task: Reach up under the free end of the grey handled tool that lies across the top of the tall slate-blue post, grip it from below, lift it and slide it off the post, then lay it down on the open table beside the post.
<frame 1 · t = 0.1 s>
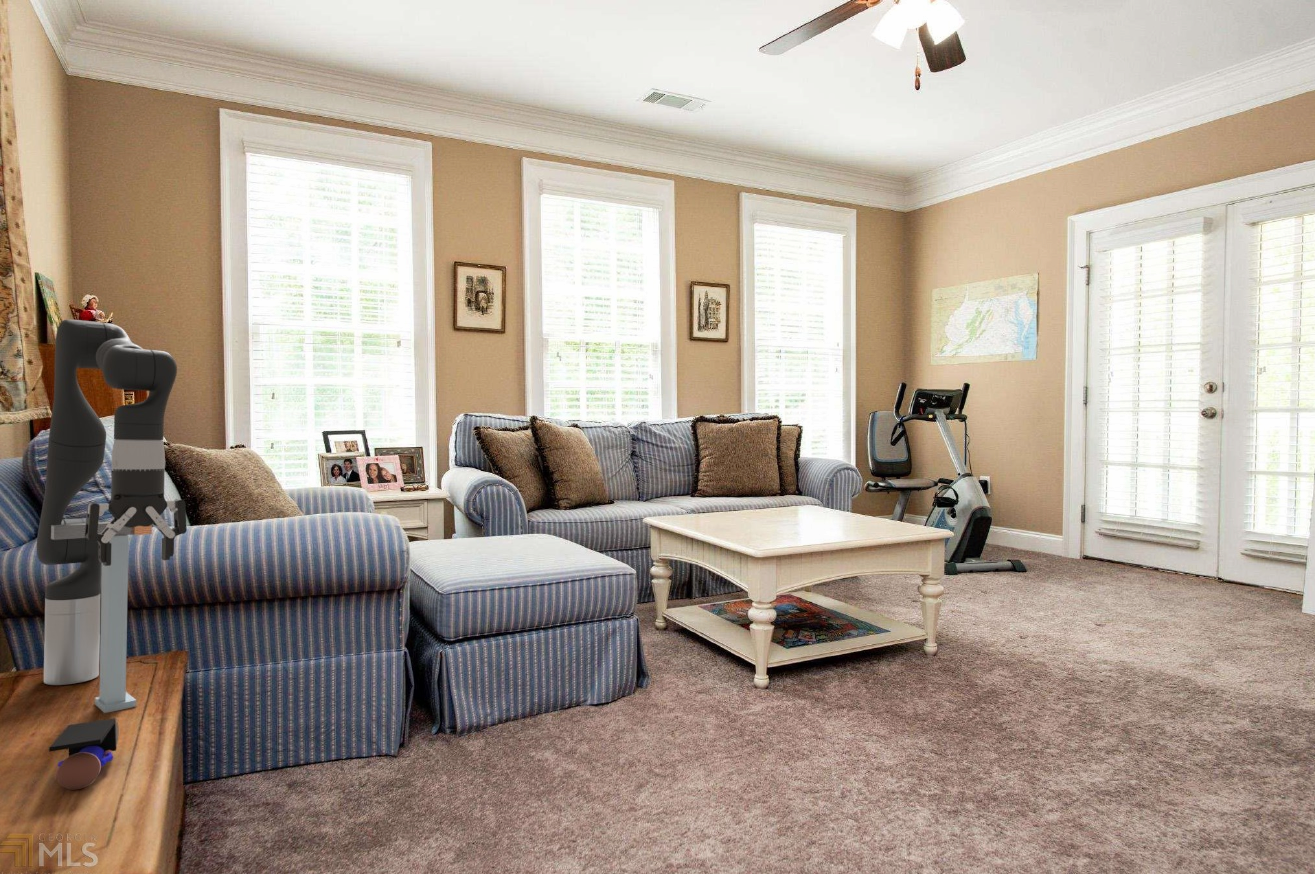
hand: (136, 562, 133), 29 cm above the table, tool pointing down, fingers open, 8 cm apart
post: (112, 705, 147), on the table
figurine character: (85, 775, 118), on the table
grey handled tool: (92, 536, 145), point 32 cm above the table, touching post
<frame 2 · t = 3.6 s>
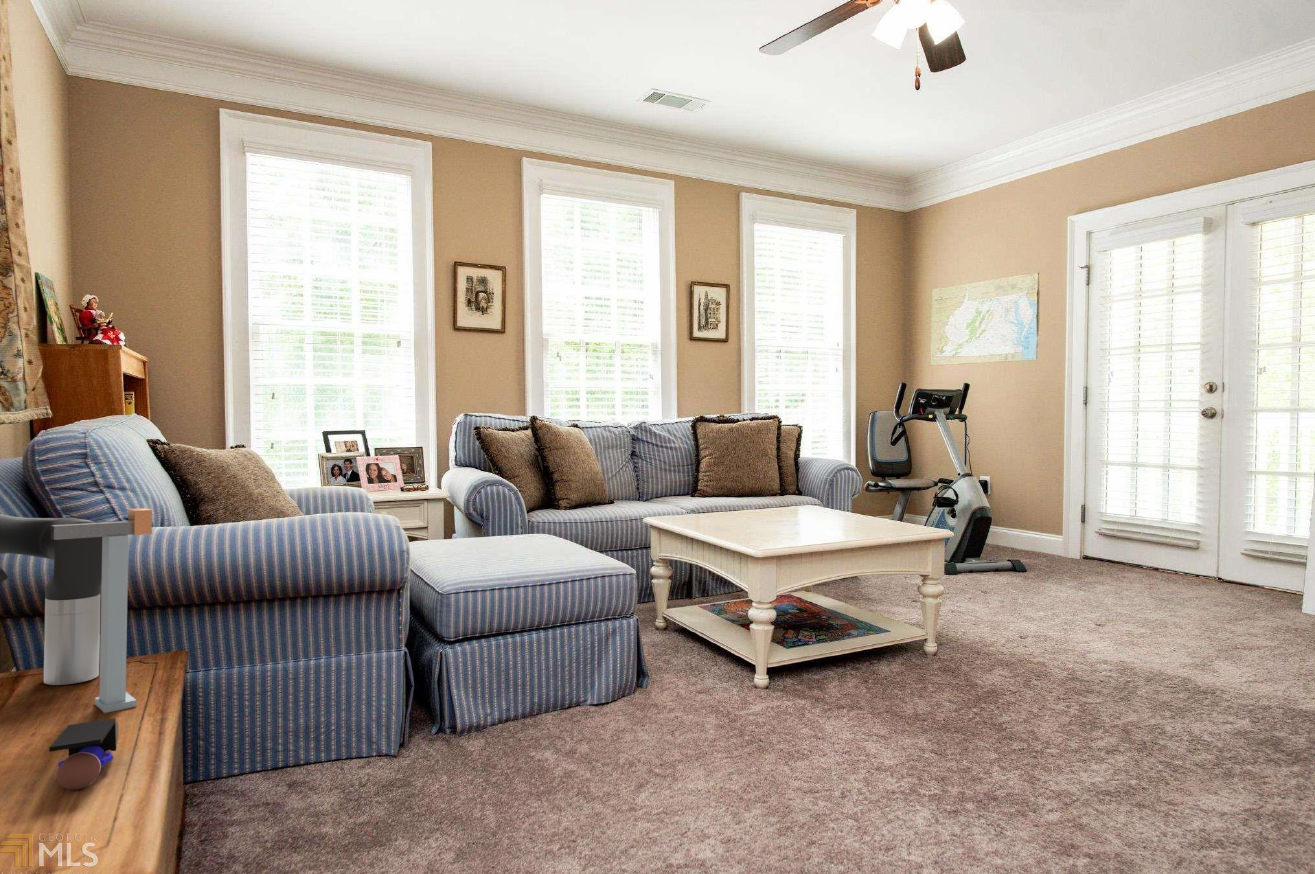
hand: (0, 569, 135), 27 cm above the table, tool pointing upward, fingers open, 8 cm apart
nothing on the table moved.
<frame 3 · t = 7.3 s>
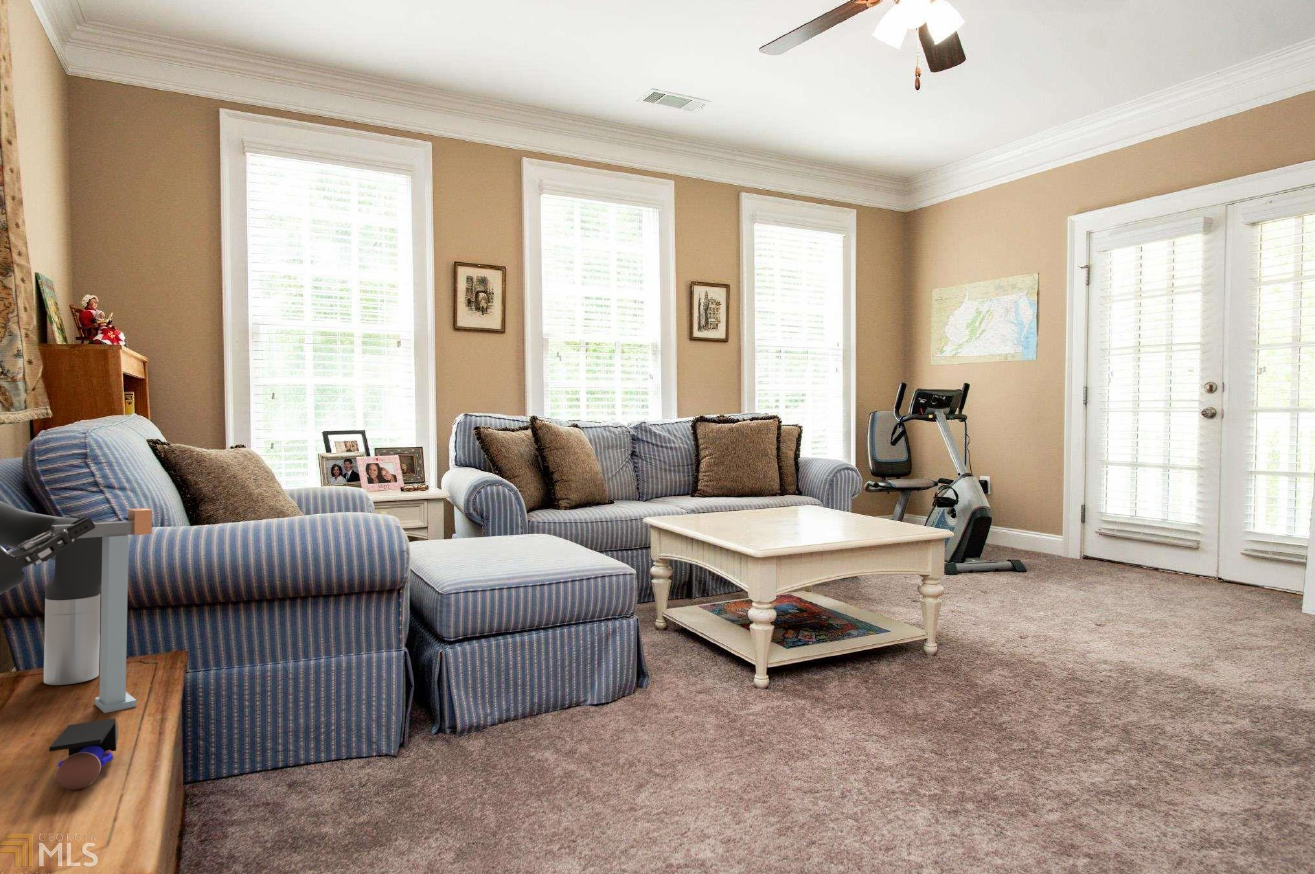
hand: (90, 521, 145), 35 cm above the table, tool pointing upward, fingers closed on grey handled tool, 2 cm apart
grey handled tool: (93, 536, 145), point 32 cm above the table, touching gripper, post
everything else where it was.
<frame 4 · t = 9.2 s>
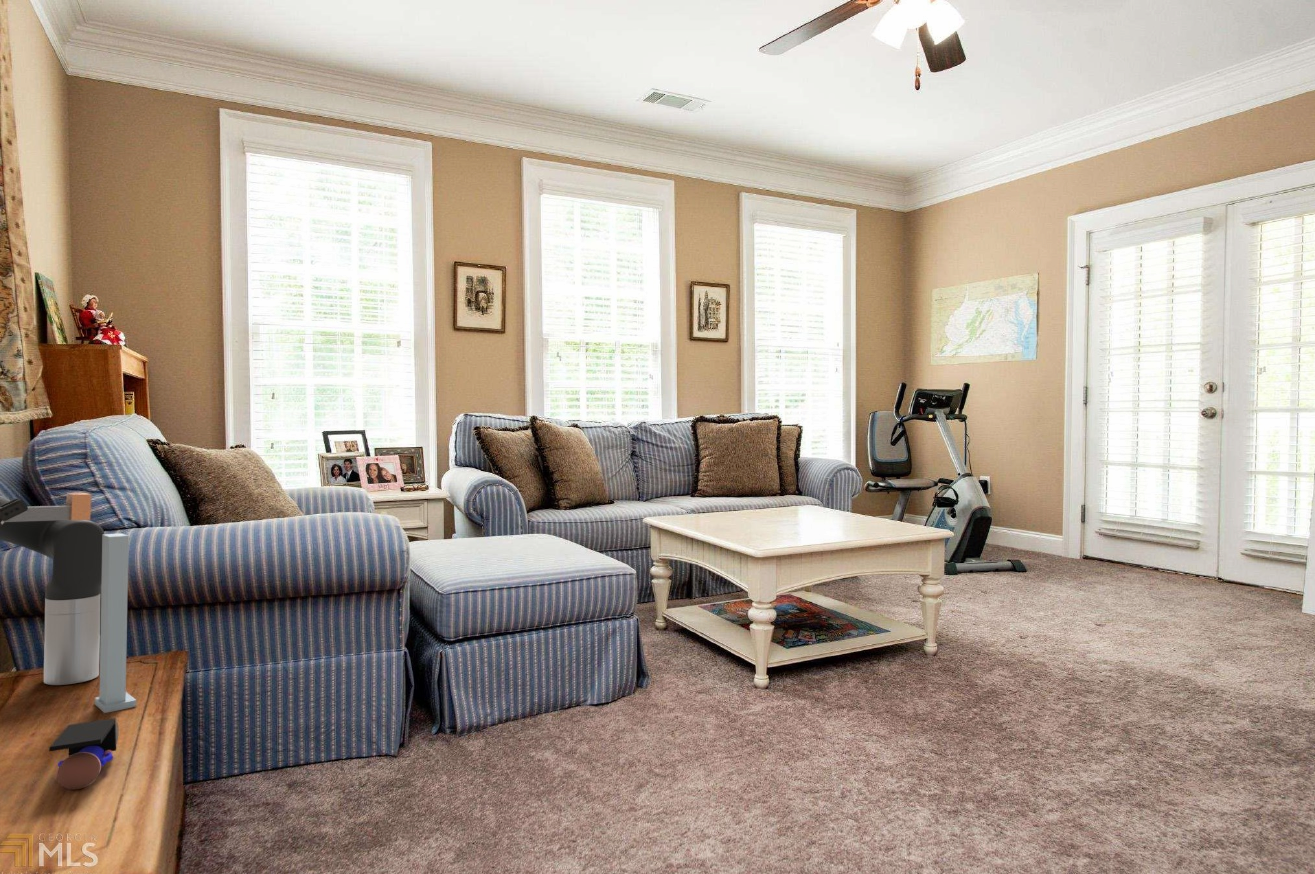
hand: (22, 503, 137), 39 cm above the table, tool pointing upward, fingers closed on grey handled tool, 2 cm apart
grey handled tool: (26, 520, 138), point 36 cm above the table, touching gripper
everything else where it was.
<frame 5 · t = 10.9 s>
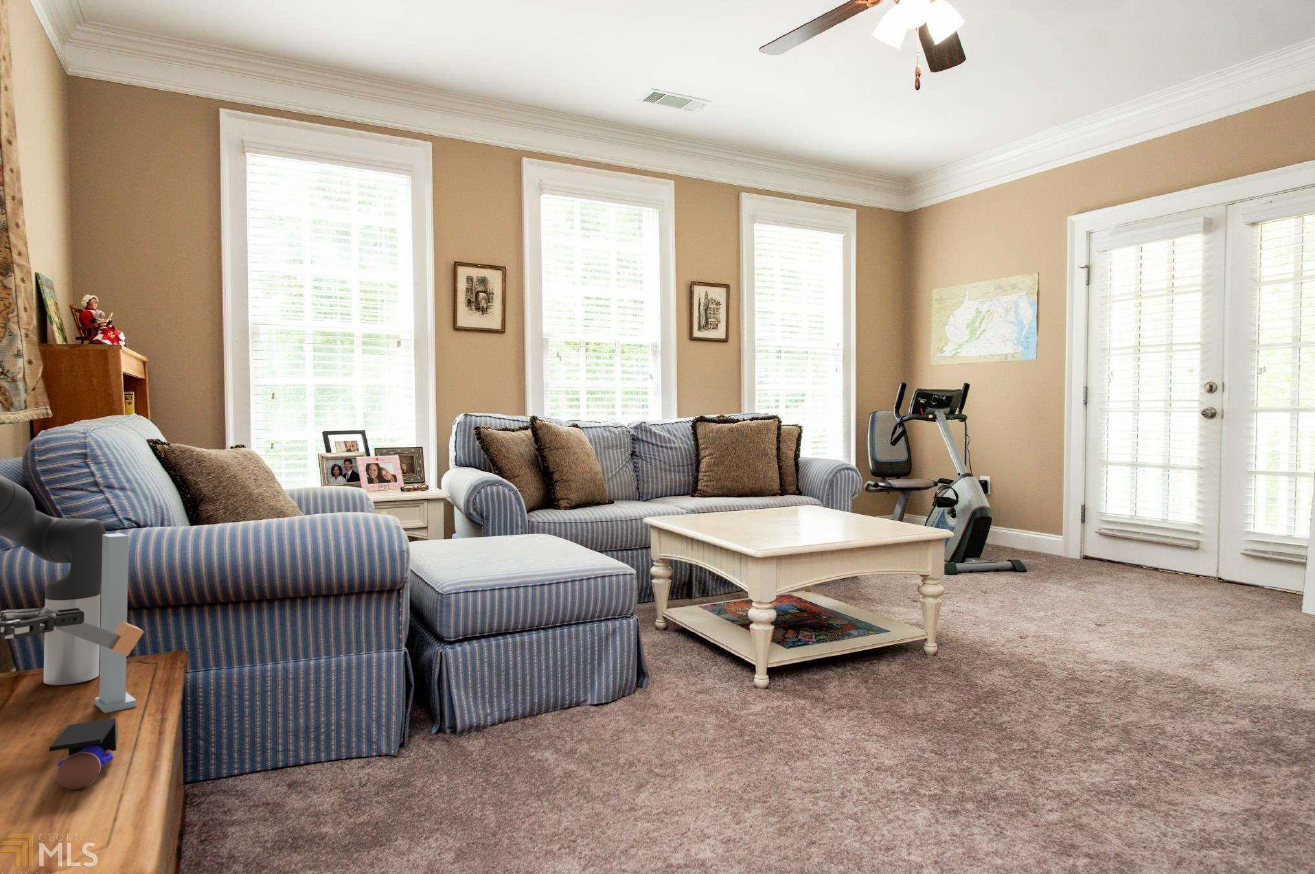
hand: (81, 615, 135), 20 cm above the table, tool horizontal, fingers closed on grey handled tool, 2 cm apart
grey handled tool: (73, 634, 135), point 16 cm above the table, tilted 32°, touching gripper
everything else where it was.
when the fingers open (8 cm above the table, at t = 13.2 s): grey handled tool drops 5 cm, on the table.
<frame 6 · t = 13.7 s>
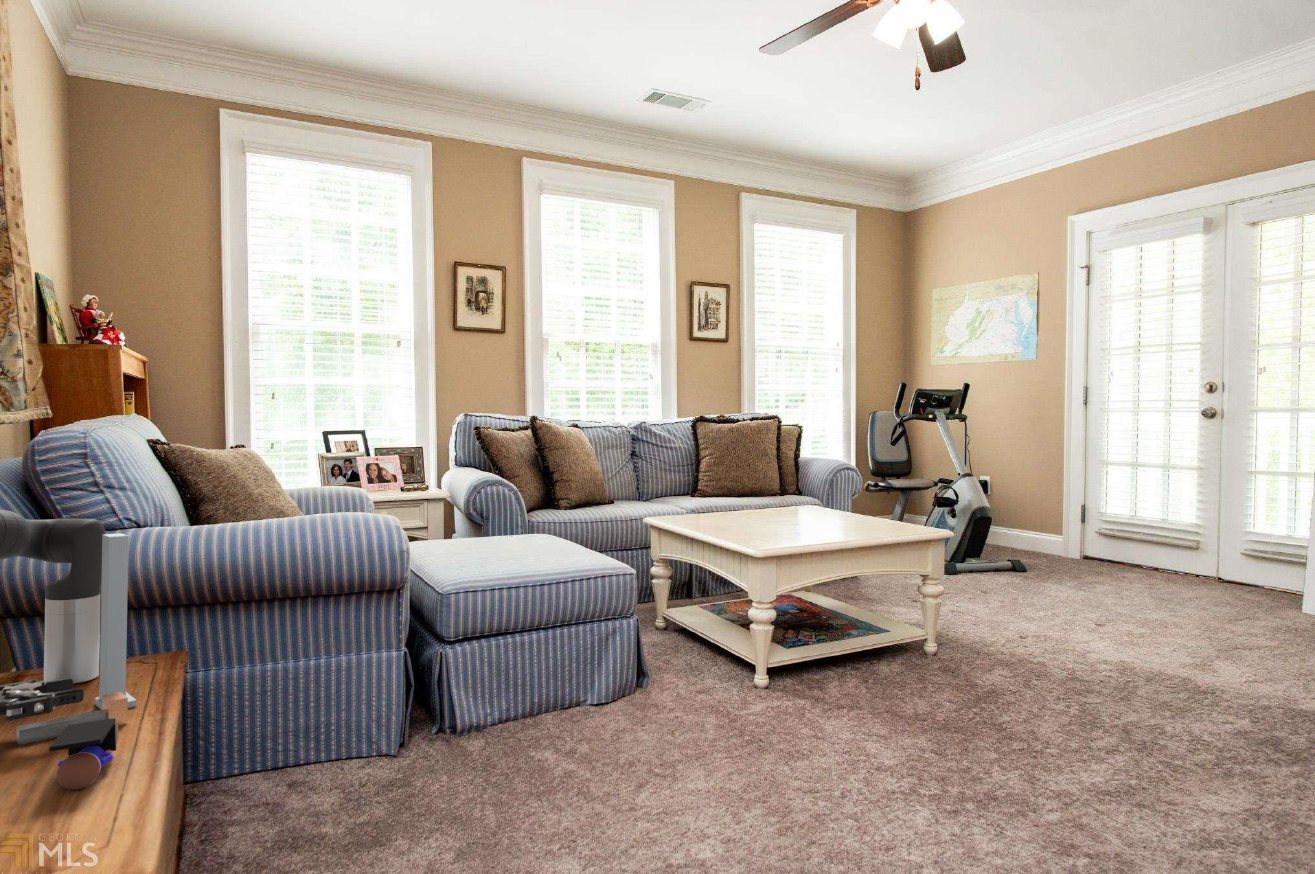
hand: (77, 689, 135), 7 cm above the table, tool horizontal, fingers open, 7 cm apart
grey handled tool: (62, 733, 133), on the table
everything else where it was.
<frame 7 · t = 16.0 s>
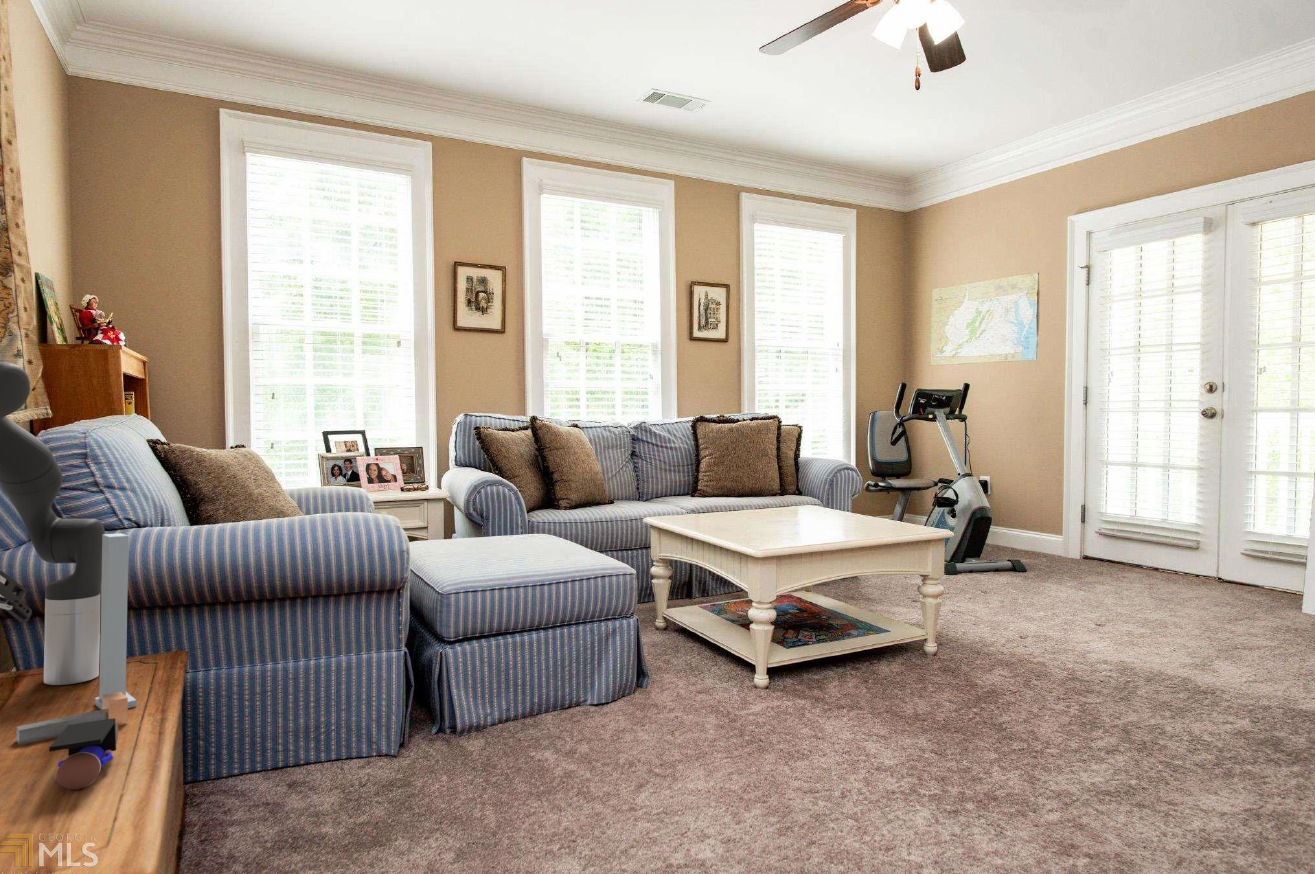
hand: (2, 625, 129), 19 cm above the table, tool tilted 45°, fingers open, 8 cm apart
nothing on the table moved.
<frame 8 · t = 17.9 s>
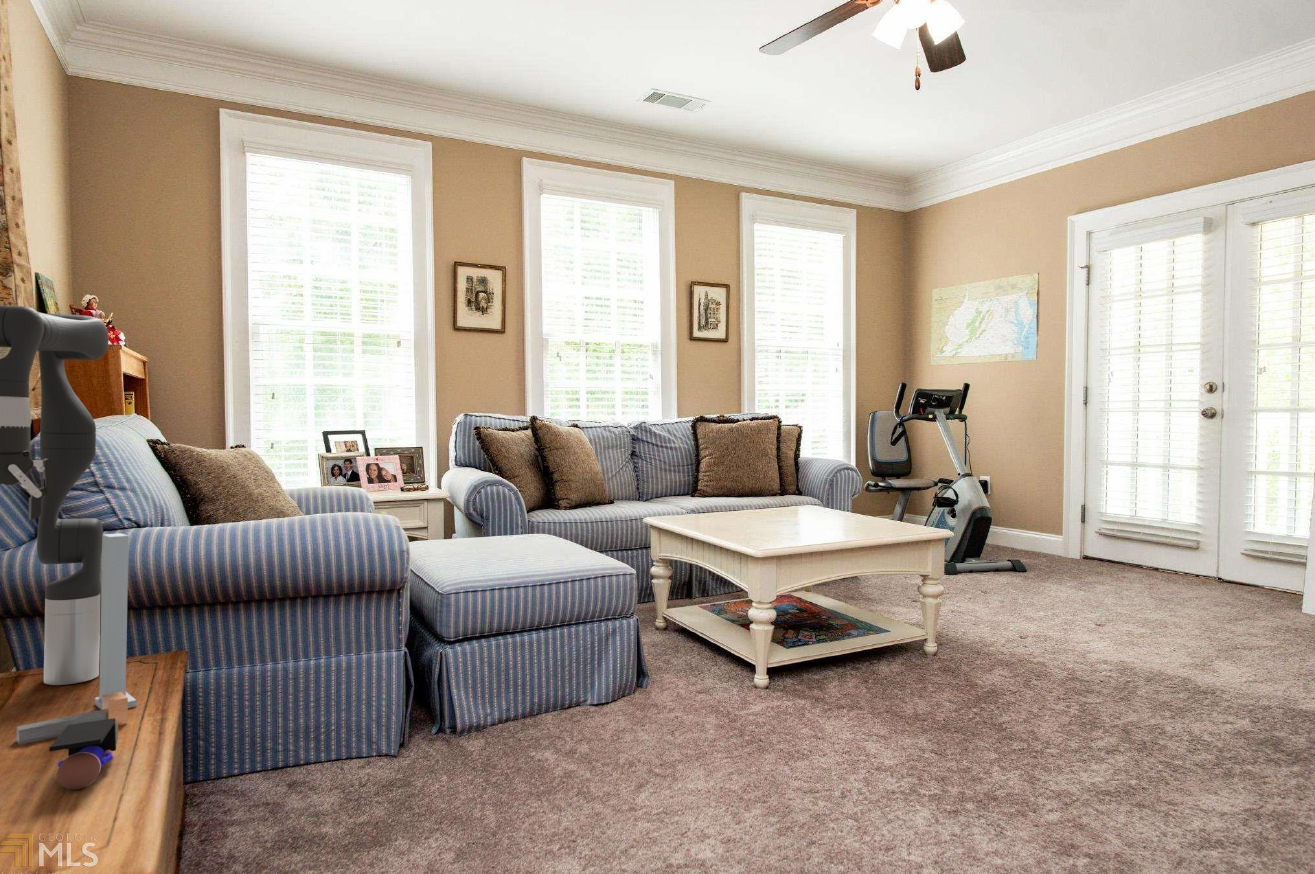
nothing on the table moved.
at the end: the gripper is holding nothing; grey handled tool on the table; grey handled tool inside the target area (3.5 cm from its centre), on the table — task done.
